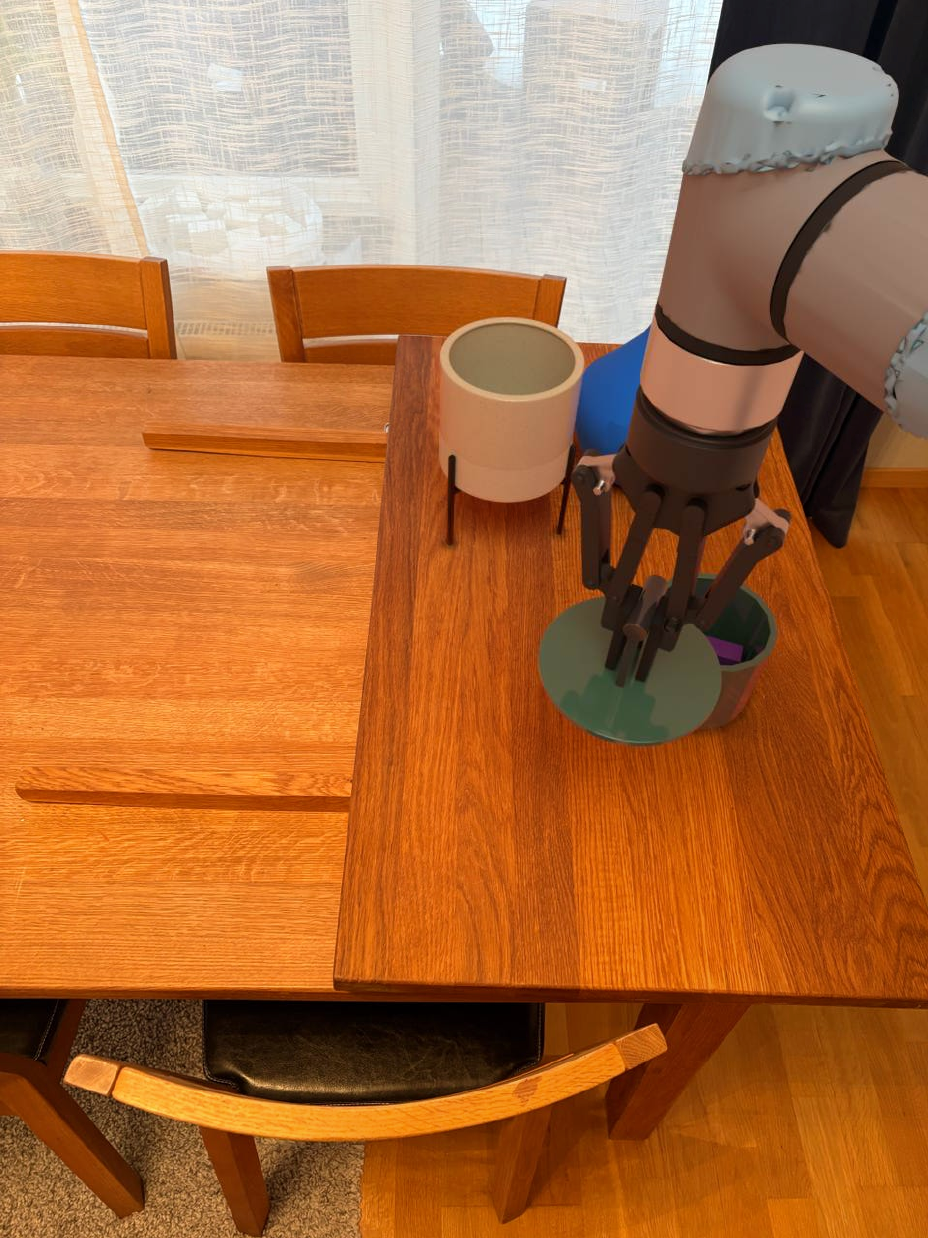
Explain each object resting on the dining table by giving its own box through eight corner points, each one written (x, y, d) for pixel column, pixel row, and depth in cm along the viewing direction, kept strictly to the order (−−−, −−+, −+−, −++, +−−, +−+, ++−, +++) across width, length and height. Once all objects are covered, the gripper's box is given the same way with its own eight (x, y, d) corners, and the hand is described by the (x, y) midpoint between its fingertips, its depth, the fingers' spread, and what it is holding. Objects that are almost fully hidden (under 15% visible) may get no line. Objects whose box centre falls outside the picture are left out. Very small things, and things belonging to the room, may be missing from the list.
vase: (544, 434, 118) (572, 219, 95) (664, 412, 122) (718, 200, 99) (597, 524, 107) (643, 305, 84) (727, 496, 111) (804, 280, 88)
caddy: (758, 661, 94) (789, 599, 86) (729, 748, 87) (759, 689, 79) (651, 621, 97) (671, 557, 89) (614, 701, 90) (632, 640, 82)
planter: (543, 466, 114) (564, 308, 96) (572, 552, 104) (601, 394, 86) (430, 476, 112) (429, 316, 94) (448, 565, 102) (451, 405, 84)
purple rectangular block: (730, 684, 91) (733, 668, 93) (740, 661, 88) (743, 646, 90) (656, 662, 93) (660, 647, 94) (664, 639, 90) (668, 624, 91)
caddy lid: (737, 642, 67) (770, 567, 60) (688, 781, 59) (720, 713, 52) (575, 582, 70) (589, 506, 64) (507, 706, 62) (516, 633, 56)
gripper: (862, 396, 45) (740, 660, 64) (602, 323, 49) (557, 593, 67) (837, 480, 41) (713, 738, 59) (553, 393, 45) (519, 661, 63)
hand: (630, 660), depth 63 cm, fingers closed on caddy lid, 2 cm apart
